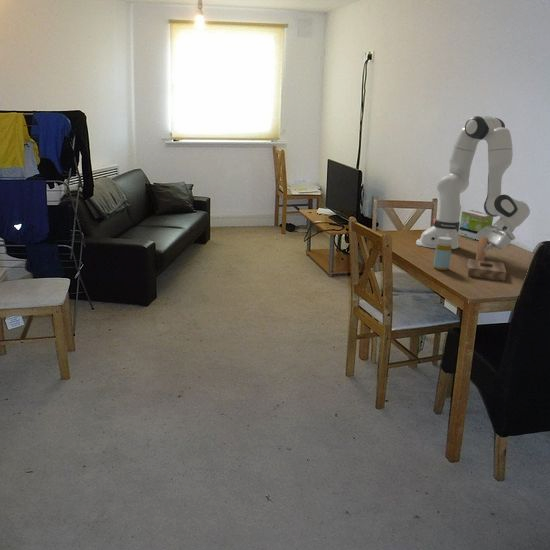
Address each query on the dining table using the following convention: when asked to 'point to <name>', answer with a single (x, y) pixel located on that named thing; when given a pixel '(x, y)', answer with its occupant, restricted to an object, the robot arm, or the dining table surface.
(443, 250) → the bottle
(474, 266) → the socket block
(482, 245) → the peg
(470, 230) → the tea box
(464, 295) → the dining table surface
